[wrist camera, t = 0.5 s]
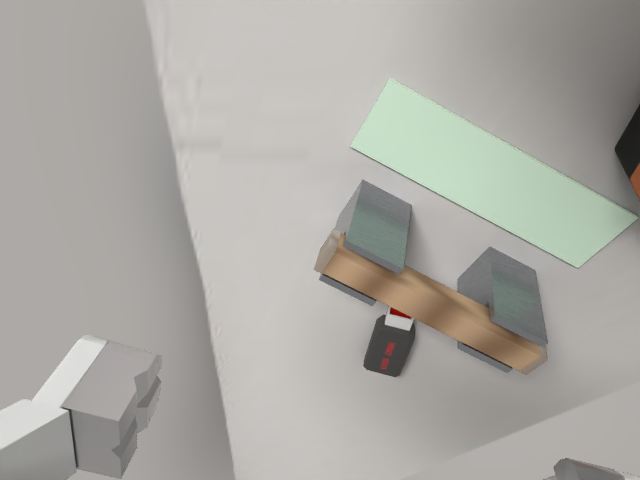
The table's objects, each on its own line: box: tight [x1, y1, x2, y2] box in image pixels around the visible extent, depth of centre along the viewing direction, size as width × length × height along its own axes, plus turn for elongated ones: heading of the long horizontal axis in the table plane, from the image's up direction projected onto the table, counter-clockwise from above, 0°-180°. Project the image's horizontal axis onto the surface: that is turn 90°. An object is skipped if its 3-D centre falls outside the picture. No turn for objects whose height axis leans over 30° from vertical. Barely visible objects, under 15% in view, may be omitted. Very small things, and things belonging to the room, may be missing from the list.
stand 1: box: [319, 180, 411, 306], centre depth 52 cm, size 6×6×10 cm
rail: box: [314, 229, 548, 375], centre depth 49 cm, size 24×3×3 cm, turn 65°
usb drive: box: [363, 306, 415, 377], centre depth 67 cm, size 5×12×3 cm, turn 172°
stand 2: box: [458, 247, 548, 373], centre depth 54 cm, size 6×6×10 cm
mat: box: [350, 78, 638, 268], centre depth 50 cm, size 8×28×1 cm, turn 65°
